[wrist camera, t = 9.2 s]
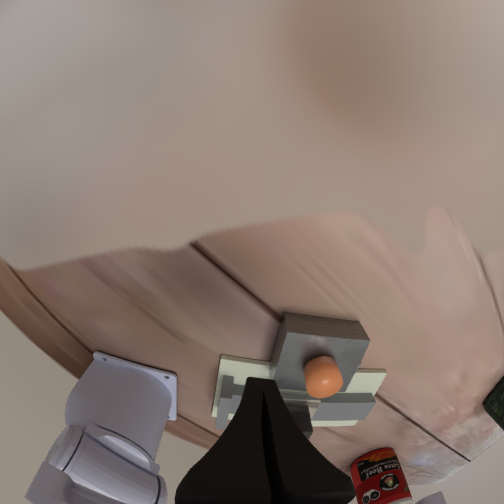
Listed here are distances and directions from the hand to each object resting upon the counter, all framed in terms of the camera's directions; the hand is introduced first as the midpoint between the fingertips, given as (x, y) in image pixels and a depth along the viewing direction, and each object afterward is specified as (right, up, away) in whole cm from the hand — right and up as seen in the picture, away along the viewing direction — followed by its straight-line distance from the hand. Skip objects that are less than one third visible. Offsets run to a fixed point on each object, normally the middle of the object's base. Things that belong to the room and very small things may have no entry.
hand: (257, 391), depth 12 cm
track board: (+4, -8, +13) cm, 16 cm away
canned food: (+19, -26, +19) cm, 38 cm away
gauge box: (+5, -2, +11) cm, 13 cm away
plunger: (+5, -3, +8) cm, 10 cm away
